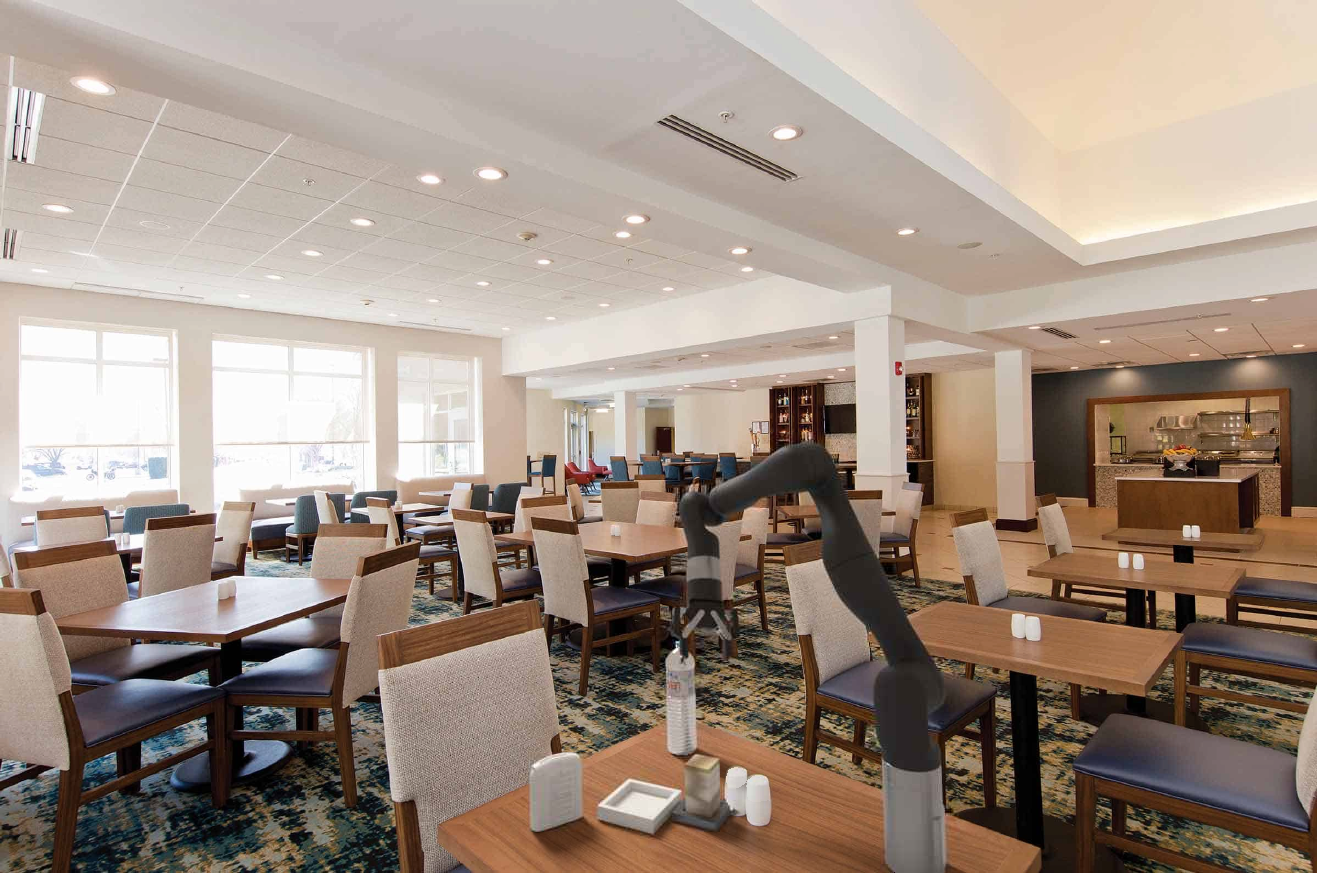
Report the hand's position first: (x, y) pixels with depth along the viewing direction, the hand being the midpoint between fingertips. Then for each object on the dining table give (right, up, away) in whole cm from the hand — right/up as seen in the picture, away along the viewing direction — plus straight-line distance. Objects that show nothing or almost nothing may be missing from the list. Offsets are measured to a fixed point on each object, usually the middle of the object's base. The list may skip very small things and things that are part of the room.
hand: (706, 659), depth 138 cm
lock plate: (-1, -27, -9) cm, 28 cm away
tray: (-13, -27, -7) cm, 31 cm away
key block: (-1, -27, -9) cm, 28 cm away
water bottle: (-4, -28, +20) cm, 35 cm away
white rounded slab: (-29, -28, -10) cm, 41 cm away
